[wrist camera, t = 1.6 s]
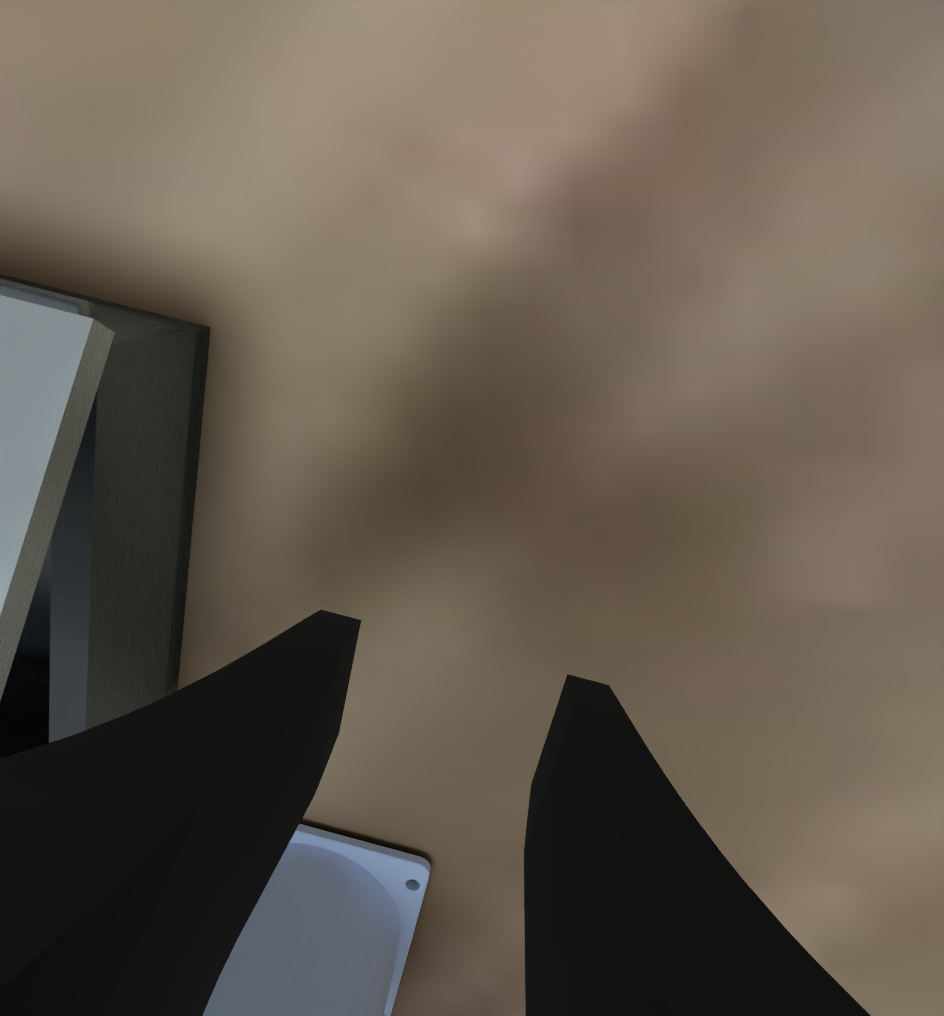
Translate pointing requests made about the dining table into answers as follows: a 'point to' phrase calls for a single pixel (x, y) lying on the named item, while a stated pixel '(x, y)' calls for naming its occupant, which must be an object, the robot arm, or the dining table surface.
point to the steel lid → (39, 432)
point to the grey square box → (115, 540)
